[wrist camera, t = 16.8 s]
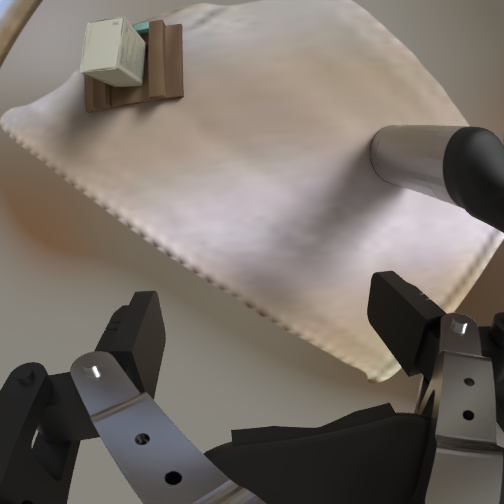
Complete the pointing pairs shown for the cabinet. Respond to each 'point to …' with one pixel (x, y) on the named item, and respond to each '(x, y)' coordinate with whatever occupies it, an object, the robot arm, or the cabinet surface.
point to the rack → (146, 71)
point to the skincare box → (114, 53)
